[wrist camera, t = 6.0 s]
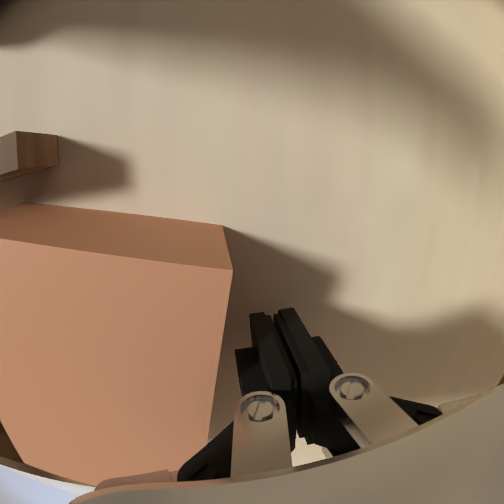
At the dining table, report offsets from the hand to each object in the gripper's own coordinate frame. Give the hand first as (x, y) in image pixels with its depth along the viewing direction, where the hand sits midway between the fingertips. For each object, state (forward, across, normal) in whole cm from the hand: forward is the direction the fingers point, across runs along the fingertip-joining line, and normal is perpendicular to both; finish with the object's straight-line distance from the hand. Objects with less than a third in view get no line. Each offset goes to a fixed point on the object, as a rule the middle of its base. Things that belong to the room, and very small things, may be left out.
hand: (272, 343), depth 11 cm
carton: (+2, +7, 0) cm, 7 cm away
